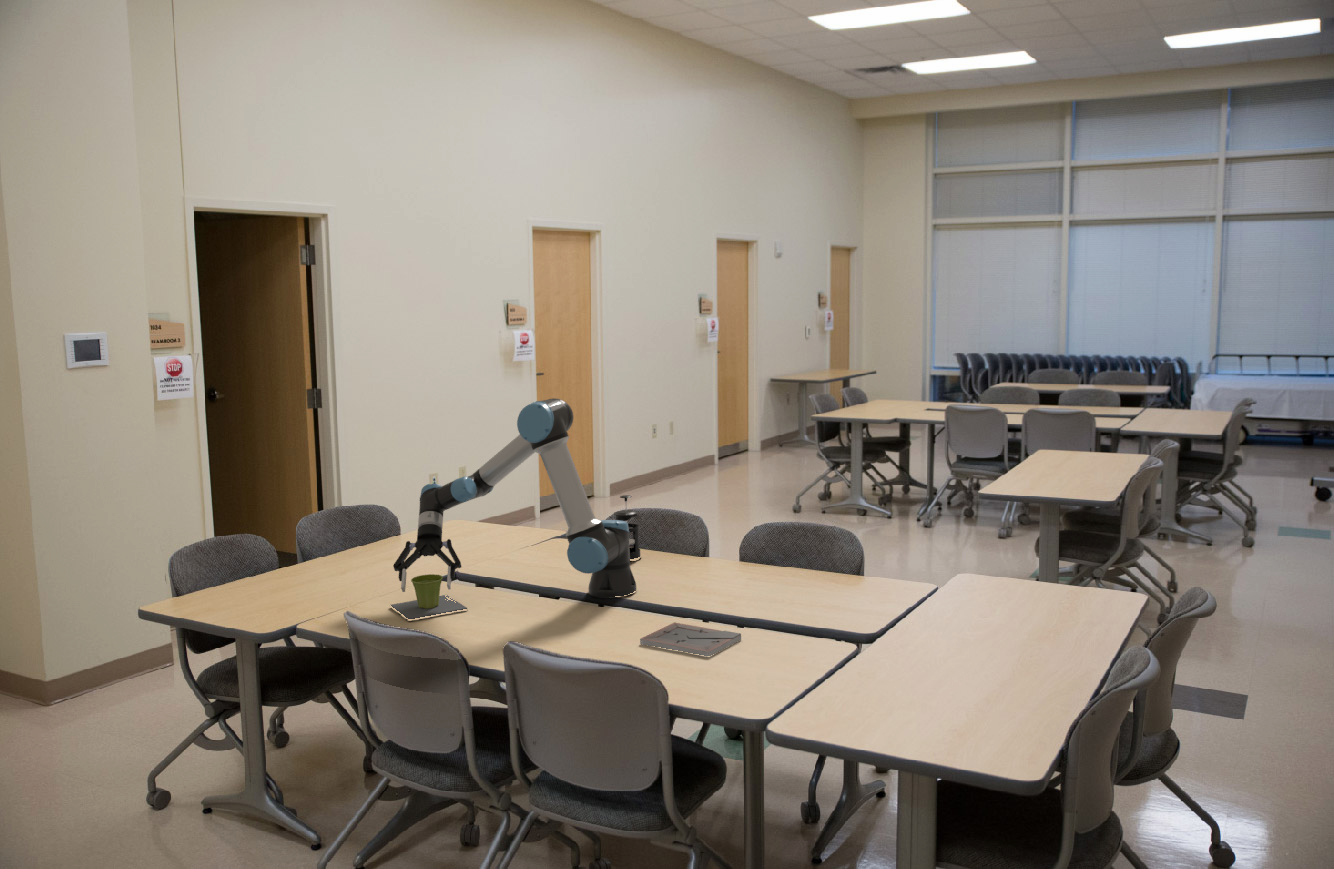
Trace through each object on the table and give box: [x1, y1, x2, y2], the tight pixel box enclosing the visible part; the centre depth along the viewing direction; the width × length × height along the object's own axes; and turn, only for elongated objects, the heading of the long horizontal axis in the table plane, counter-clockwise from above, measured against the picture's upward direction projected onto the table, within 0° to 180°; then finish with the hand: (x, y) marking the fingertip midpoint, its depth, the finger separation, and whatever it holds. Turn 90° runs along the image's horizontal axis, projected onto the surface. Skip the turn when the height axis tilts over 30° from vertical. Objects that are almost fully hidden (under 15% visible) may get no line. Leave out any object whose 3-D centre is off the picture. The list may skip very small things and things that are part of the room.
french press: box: [613, 494, 641, 559], centre depth 372 cm, size 12×9×23 cm
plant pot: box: [410, 573, 444, 609], centre depth 318 cm, size 9×9×9 cm
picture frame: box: [639, 622, 742, 657], centre depth 280 cm, size 16×2×22 cm
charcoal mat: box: [390, 594, 468, 619], centre depth 318 cm, size 18×18×1 cm
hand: (425, 588), depth 315 cm, fingers open, 13 cm apart
